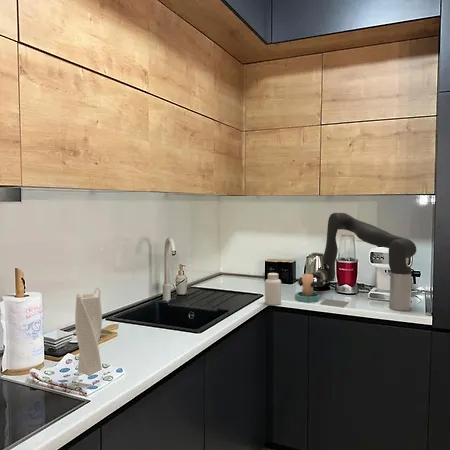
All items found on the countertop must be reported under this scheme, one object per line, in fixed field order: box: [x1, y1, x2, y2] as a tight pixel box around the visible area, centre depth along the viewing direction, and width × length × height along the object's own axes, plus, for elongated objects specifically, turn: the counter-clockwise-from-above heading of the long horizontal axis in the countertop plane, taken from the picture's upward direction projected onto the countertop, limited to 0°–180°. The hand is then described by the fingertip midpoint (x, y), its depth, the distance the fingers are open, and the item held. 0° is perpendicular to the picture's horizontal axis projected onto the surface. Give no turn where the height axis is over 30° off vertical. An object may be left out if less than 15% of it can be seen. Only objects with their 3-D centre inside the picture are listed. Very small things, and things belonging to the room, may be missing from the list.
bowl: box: [294, 291, 321, 304], centre depth 222 cm, size 12×12×3 cm
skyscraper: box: [74, 287, 103, 376], centre depth 127 cm, size 8×8×28 cm
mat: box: [319, 298, 350, 308], centre depth 215 cm, size 12×12×1 cm
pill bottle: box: [264, 272, 282, 306], centre depth 216 cm, size 8×8×15 cm
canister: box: [301, 273, 314, 297], centre depth 221 cm, size 5×5×11 cm
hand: (306, 284), depth 219 cm, fingers closed on canister, 5 cm apart
